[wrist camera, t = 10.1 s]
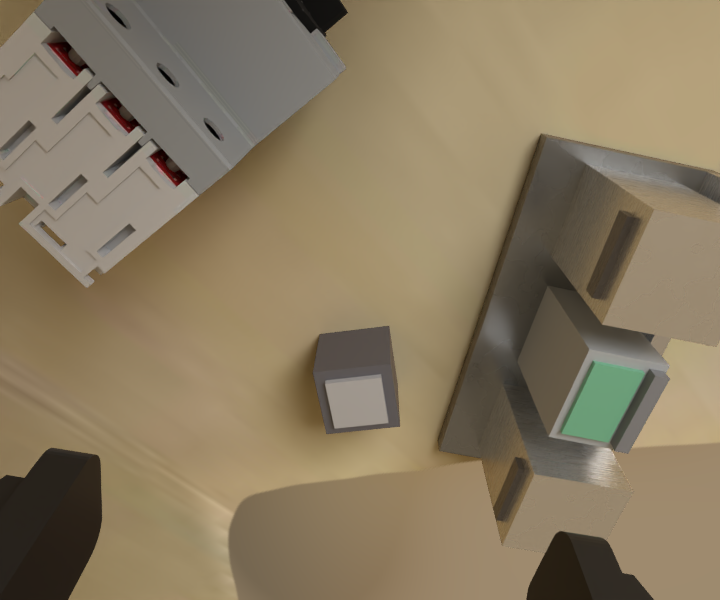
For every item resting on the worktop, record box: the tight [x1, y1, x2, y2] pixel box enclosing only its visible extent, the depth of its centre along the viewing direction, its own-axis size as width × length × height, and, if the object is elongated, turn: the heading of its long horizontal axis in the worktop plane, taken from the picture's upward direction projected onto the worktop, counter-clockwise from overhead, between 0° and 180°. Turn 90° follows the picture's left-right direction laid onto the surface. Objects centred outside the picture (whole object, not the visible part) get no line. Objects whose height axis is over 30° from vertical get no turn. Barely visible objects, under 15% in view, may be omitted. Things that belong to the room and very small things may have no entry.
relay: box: [313, 326, 400, 434], centre depth 39 cm, size 5×5×5 cm
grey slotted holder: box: [438, 134, 720, 553], centre depth 35 cm, size 24×11×10 cm, turn 169°
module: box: [517, 286, 670, 454], centre depth 34 cm, size 6×4×9 cm
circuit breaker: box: [0, 0, 348, 288], centre depth 26 cm, size 8×14×15 cm, turn 127°
